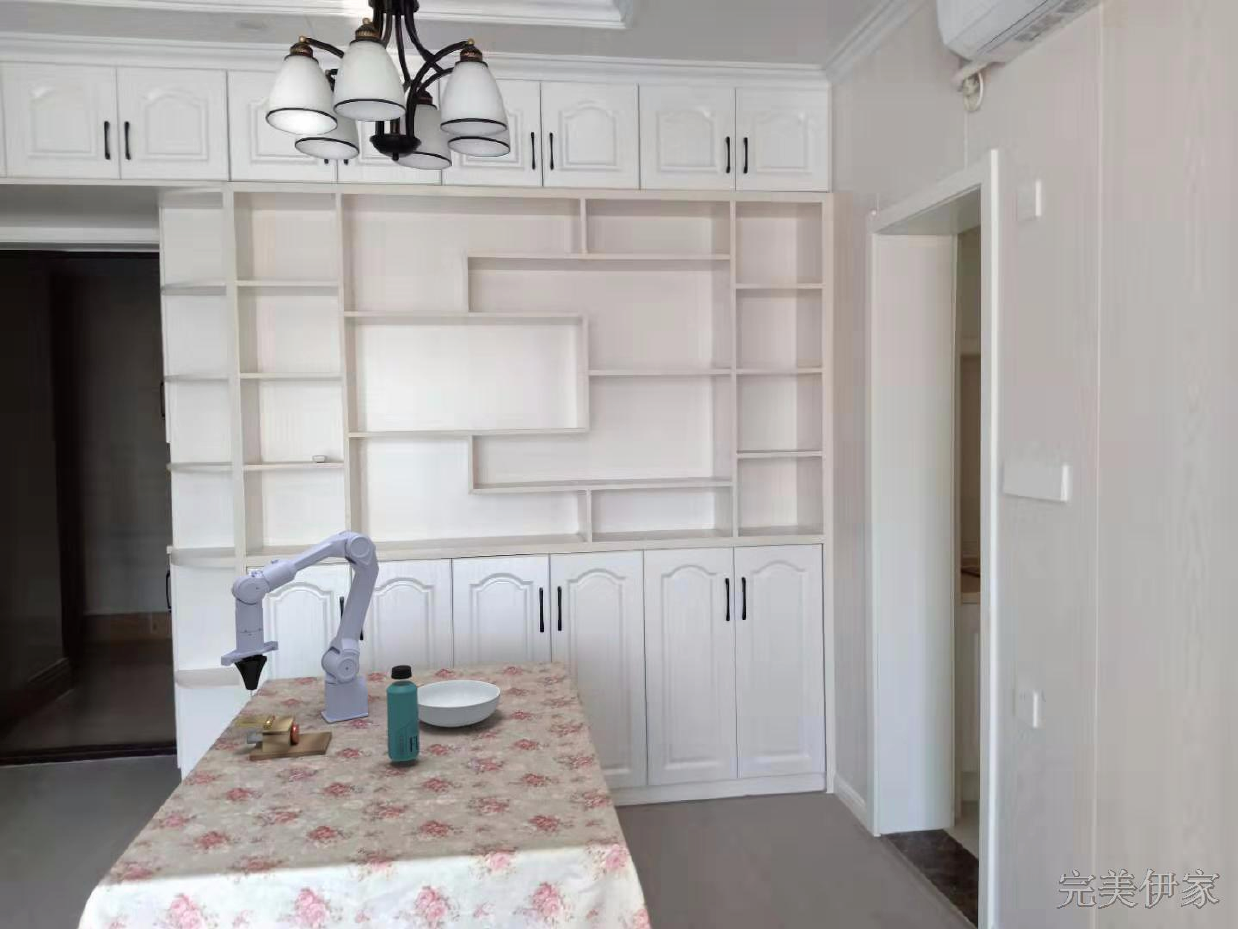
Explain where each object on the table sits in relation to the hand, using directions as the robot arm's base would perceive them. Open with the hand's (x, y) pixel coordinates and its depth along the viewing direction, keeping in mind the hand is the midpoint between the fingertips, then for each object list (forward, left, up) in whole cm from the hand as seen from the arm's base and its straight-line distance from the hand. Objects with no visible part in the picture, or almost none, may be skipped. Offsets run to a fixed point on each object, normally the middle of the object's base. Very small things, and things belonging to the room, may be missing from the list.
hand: (251, 689), depth 193 cm
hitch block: (-6, +13, -10) cm, 18 cm away
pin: (-2, +12, -9) cm, 15 cm away
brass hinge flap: (+1, +10, -5) cm, 11 cm away
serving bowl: (-42, +16, -11) cm, 46 cm away
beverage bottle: (-24, +34, -11) cm, 43 cm away
